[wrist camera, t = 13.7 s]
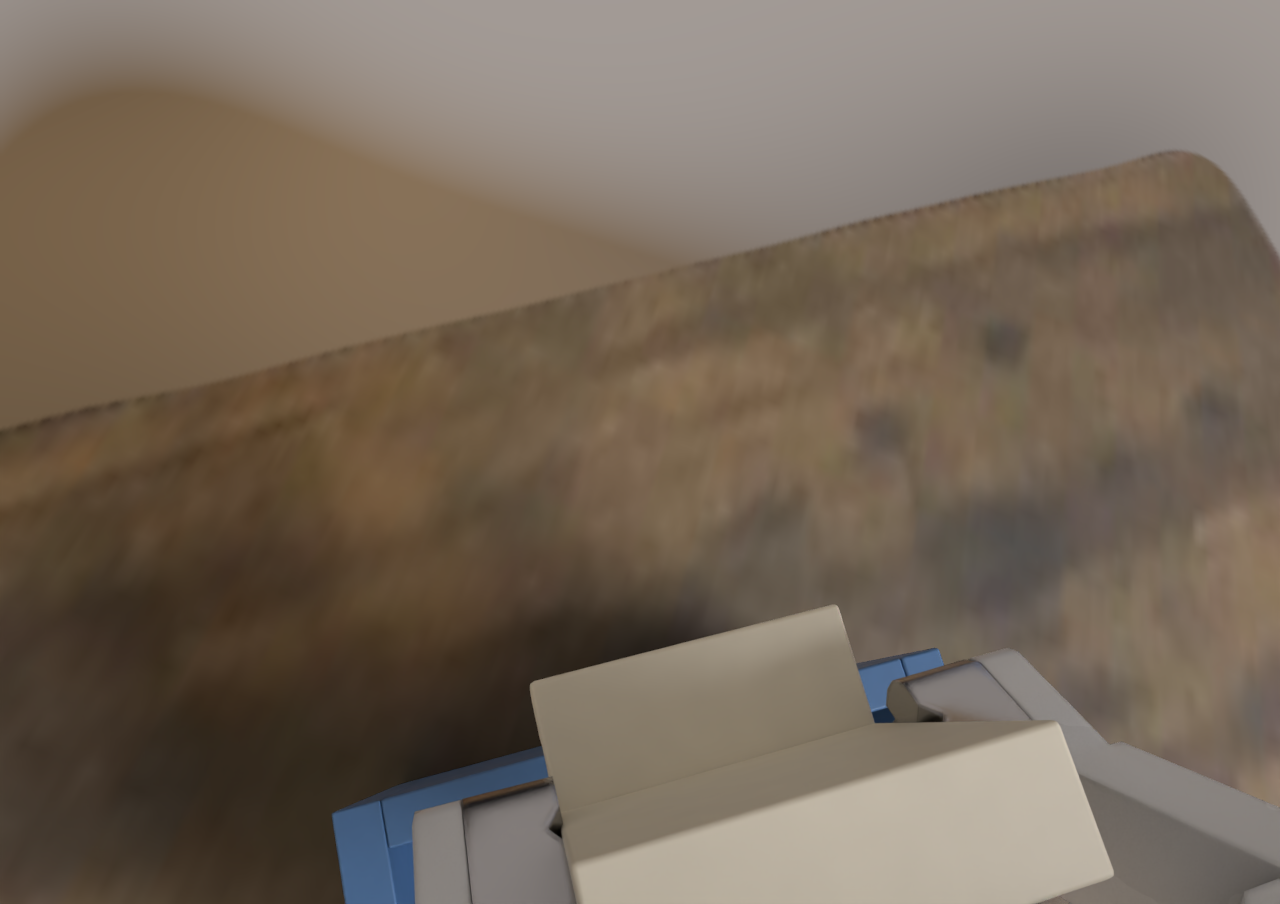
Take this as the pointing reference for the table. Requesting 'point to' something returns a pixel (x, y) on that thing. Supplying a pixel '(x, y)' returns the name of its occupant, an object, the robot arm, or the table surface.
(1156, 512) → the table surface
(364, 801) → the box
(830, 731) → the cream l-shaped step block
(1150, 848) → the robot arm
